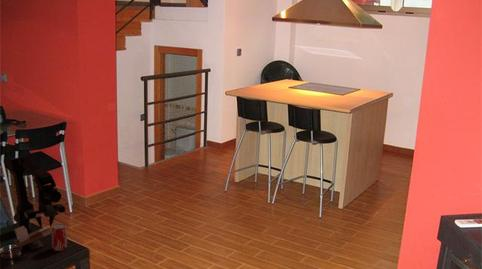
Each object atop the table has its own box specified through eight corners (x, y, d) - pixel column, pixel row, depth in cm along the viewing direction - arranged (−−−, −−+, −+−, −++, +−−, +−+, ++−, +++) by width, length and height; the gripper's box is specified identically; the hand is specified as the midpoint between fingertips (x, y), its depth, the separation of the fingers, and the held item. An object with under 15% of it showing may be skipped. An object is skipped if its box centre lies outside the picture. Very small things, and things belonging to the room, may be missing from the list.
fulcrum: (26, 243, 261) (25, 237, 260) (38, 241, 264) (38, 234, 264) (31, 249, 255) (31, 242, 254) (43, 246, 258) (43, 240, 258)
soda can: (62, 252, 252) (61, 229, 250) (49, 251, 254) (48, 228, 251) (70, 246, 259) (69, 224, 257) (57, 245, 260) (56, 222, 258)
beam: (14, 243, 256) (13, 240, 255) (49, 228, 266) (49, 225, 265) (18, 247, 251) (17, 245, 251) (54, 232, 261) (53, 229, 261)
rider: (17, 239, 256) (14, 229, 254) (26, 236, 258) (23, 225, 256) (20, 243, 252) (17, 232, 250) (29, 239, 255) (26, 228, 253)
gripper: (30, 206, 246) (32, 236, 249) (69, 199, 258) (70, 228, 261) (23, 199, 254) (24, 229, 258) (60, 192, 266) (61, 221, 269)
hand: (45, 227), depth 261 cm, fingers open, 4 cm apart
